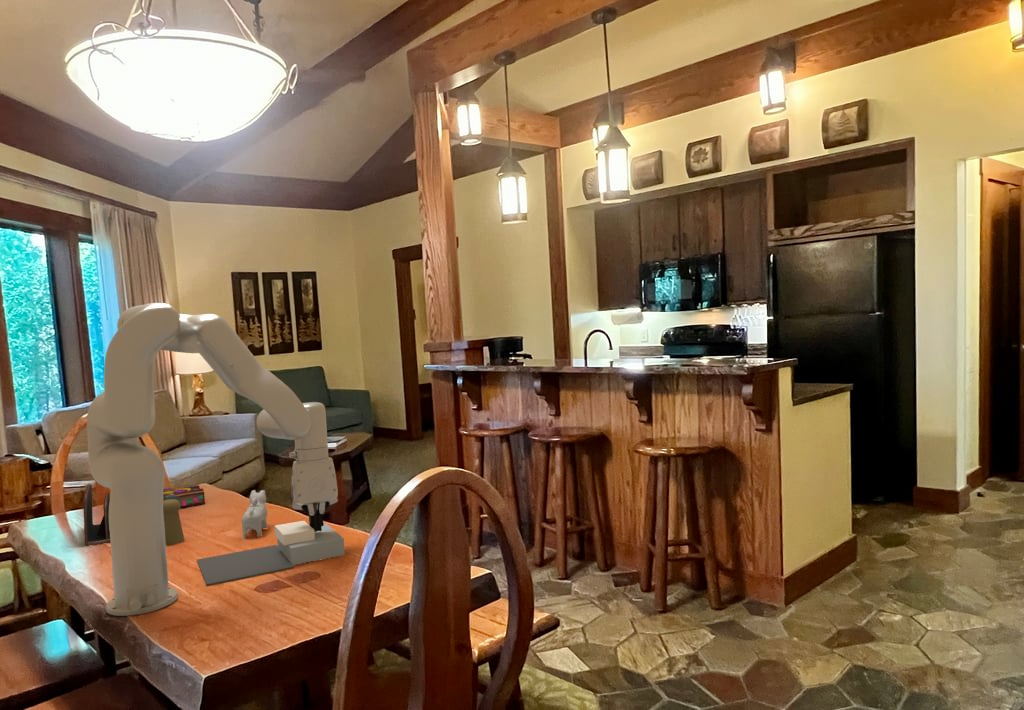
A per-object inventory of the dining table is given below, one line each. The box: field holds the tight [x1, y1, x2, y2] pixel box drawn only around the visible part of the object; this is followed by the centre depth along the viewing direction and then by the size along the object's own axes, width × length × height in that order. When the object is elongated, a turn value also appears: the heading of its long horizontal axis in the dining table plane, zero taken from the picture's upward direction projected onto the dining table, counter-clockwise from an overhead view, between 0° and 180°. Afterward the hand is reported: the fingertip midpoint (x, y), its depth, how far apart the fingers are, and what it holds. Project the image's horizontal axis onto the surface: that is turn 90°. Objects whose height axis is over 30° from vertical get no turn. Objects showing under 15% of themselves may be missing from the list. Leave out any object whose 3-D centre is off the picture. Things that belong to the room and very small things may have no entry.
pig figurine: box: [241, 489, 269, 539], centre depth 188 cm, size 5×13×11 cm, turn 9°
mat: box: [196, 544, 295, 587], centre depth 161 cm, size 20×18×1 cm
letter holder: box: [82, 483, 111, 547], centre depth 193 cm, size 10×20×14 cm, turn 27°
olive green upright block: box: [163, 499, 185, 547], centre depth 183 cm, size 6×6×11 cm
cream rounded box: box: [274, 520, 315, 545], centre depth 167 cm, size 10×7×2 cm
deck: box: [276, 522, 346, 566], centre depth 169 cm, size 16×12×4 cm
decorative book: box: [163, 484, 206, 509], centre depth 227 cm, size 11×16×5 cm
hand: (316, 530), depth 169 cm, fingers closed
